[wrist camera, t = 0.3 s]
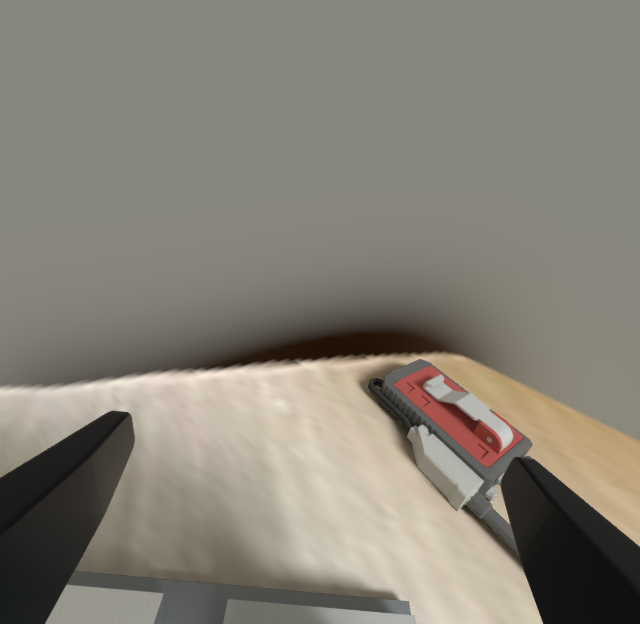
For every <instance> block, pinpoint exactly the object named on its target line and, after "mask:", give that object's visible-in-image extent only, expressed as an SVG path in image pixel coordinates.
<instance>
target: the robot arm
mask: <svg viewBox="0 0 640 624" xmlns="http://www.w3.org/2000/svg"><path fill="white" fill-rule="evenodd" d="M134 442H135V436H134V429H133V422H132V416H131V414H130V413H128V412H120V411H110V412H108V413H106V414H104V415H103V416H101V417H99V418H98V419H96V420H95V421H93V422H91V423H90V424H88V425H86V426H85V427H83V428H81V429H80V430H78V431H76V432H75V433H73V434H72V435H70V436H68V437H67V438H65V439H63V440H62V441H60V442H58V443H57V444H55V445H54V446H52V447H50V448H49V449H47V450H45V451H44V452H42V453H40V454H39V455H37V456H35V457H34V458H32V459H31V460H29V461H27V462H26V463H24V464H22V465H21V466H19V467H17V468H16V469H14V470H12V471H11V472H9V473H8V474H6V475H4V476H3V477H1V478H0V624H45V623H46V621H47V619H48V618H49V616H50V614H51V612H52V610H53V609H54V607H55V605H56V603H57V601H58V599H59V598H60V596H61V594H62V592H63V590H64V588H65V587H66V585H67V583H68V581H69V579H70V578H71V576H72V574H73V572H74V570H75V568H76V567H77V565H78V563H79V561H80V559H81V557H82V556H83V554H84V552H85V550H86V548H87V547H88V545H89V543H90V541H91V539H92V537H93V536H94V534H95V532H96V530H97V528H98V526H99V524H100V523H101V521H102V519H103V517H104V515H105V513H106V510H107V508H108V506H109V504H110V501H111V499H112V497H113V494H114V492H115V490H116V487H117V485H118V482H119V480H120V478H121V475H122V473H123V471H124V468H125V466H126V464H127V461H128V459H129V457H130V454H131V452H132V450H133V447H134ZM501 491H502V494H503V498H504V502H505V506H506V510H507V513H508V517H509V521H510V525H511V529H512V532H513V536H514V540H515V544H516V547H517V551H518V554H519V557H520V560H521V563H522V566H523V569H524V572H525V575H526V578H527V580H528V583H529V586H530V589H531V591H532V594H533V597H534V600H535V602H536V605H537V608H538V611H539V613H540V616H541V619H542V622H543V624H640V547H639V546H638V545H637V544H636V543H635V542H633V541H632V540H631V539H630V538H629V537H627V536H626V535H625V534H624V533H623V532H621V531H620V530H619V529H618V528H617V527H615V526H614V525H613V524H612V523H611V522H609V521H608V520H607V519H606V518H604V517H603V516H602V515H601V514H600V513H598V512H597V511H596V510H595V509H594V508H592V507H591V506H590V505H589V504H588V503H586V502H585V501H584V500H583V499H582V498H580V497H579V496H578V495H577V494H576V493H574V492H573V491H572V490H571V489H570V488H568V487H567V486H566V485H565V484H564V483H562V482H561V481H560V480H559V479H558V478H556V477H555V476H554V475H553V474H552V473H550V472H549V471H548V470H547V469H546V468H544V467H543V466H542V465H541V464H540V463H538V462H537V461H536V460H534V459H532V458H527V457H518V456H517V457H514V458H513V459H512V460H511V462H510V464H509V465H508V467H507V469H506V471H505V473H504V475H503V476H502V479H501Z"/></svg>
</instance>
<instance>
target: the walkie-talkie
mask: <svg viewBox="0 0 640 624" xmlns="http://www.w3.org/2000/svg"><path fill="white" fill-rule="evenodd" d="M374 385H377V386H379V387H381V391H379V390H378V389H377V388H376V387H375V386H374ZM368 388H369V390H370V391H371V393H372V394H373V395H374V396H375V397H376V398H377V399H378V400H379V403H381V404H382V405H383V407H385V408H386V409H387V411H389V412H390V413H391V415H393V416H394V417H395V419H396V420H398V421H399V422H400V424H402V425H403V426H404V428H405V430H406V431H407V432H408V435H407V438H408V439H409V440H410V441H411V443H412V447H413V451H414V456H415V460H416V464H417V467H418V468H419V469H420V470H421V471H422V472H423V473H424V474H425V476H426V477H427V478H428V479H429V480H430V481H431V482H432V483H433V484H434V485H435V486H436V487H437V488H438V489H439V490H440V491H441V492H442V493H443V494H444V495H445V497H446V498H447V499H448V501H449V503H450V504H451V505H452V506H453V507H454V508H455V509H456V510H457V511H458V510H459V509H460V508H461V507H462V506H464V505H466V506H467V507H468V508H469V509H470V510H471V511H472V512H473V513H474V514H475V515H476V516H477V517H478V518H479V519H483V520H484V521H485V522H486V523H487V524H488V525H489V526H490V527H491V528H492V529H493V530H494V531H495V532H496V534H497V535H498V536H499V537H500V538H501V539H502V540H503V541H504V542H505V543H506V544H507V545H508V546H509V547H510V548H511V549H512V550H513V551H514V552H515V553H516V554H517V555H518V556H519V554H518V551H517V547H516V544H515V540H514V536H513V532H512V529H511V525H510V524H509V523H507V522H506V521H505V520H504V519H503V518H502V517H501V516H500V515H499V514H498V513H497V512H496V511H495V510H494V509H493V508H492V504H491V503H490V502H489V501H492V500H493V499H494V498H495V497H496V496H497V494H498V493H497V492H496V491H495V490H494V486H495V485H496V484H499V485H500V486H501V479H502V476H503V475H504V473H505V471H506V469H507V467H508V465H509V464H510V462H511V460H512V459H513V458H514V457H517V456H518V457H524V456H525V455H526V454H527V452H528V451H529V449H530V448H531V447H532V445H533V444H532V443H531V441H530V439H528V438H527V437H526V436H525V435H523V434H522V433H521V432H519V431H518V430H517V429H516V428H514V427H513V426H512V425H510V424H509V423H508V422H507V421H506V420H505V419H503V418H502V417H501V416H499V415H498V414H497V413H495V412H493V411H492V410H491V409H490V408H489V407H488V406H486V405H485V404H484V403H483V402H481V401H480V400H479V399H477V398H476V397H475V396H474V395H472V394H471V393H468V392H467V391H466V390H464V389H463V388H462V387H461V386H459V385H458V384H457V383H455V382H454V381H453V380H451V379H450V378H449V377H448V376H446V375H445V374H444V373H442V372H441V371H440V370H439V369H437V368H436V367H435V366H433V365H432V364H431V363H429V362H427V361H424V360H421V359H419V360H417V361H414V362H412V363H410V364H408V365H406V366H403V367H401V368H399V369H397V370H395V371H392V372H390V373H389V374H387V375H386V376H385V378H384V381H383V380H381V379H378V378H375V379H371V380H370V382H369V385H368ZM526 457H527V458H531V457H530V456H526ZM486 498H487V499H488V500H489V501H488V500H487V499H486Z"/></svg>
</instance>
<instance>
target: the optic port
mask: <svg viewBox="0 0 640 624" xmlns="http://www.w3.org/2000/svg"><path fill="white" fill-rule="evenodd" d="M167 610H168V609H167V605H166V601H165V597H164V593H154V592H143V591H132V590H120V589H109V588H98V587H86V586H75V585H66V587H65V588H64V590H63V592H62V594H61V596H60V598H59V599H58V601H57V603H56V605H55V607H54V609H53V610H52V612H51V614H50V616H49V618H48V619H47V621H46V623H45V624H163V623H164V620H165V617H166V614H167Z"/></svg>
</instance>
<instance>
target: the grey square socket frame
mask: <svg viewBox="0 0 640 624" xmlns="http://www.w3.org/2000/svg"><path fill="white" fill-rule="evenodd" d="M223 624H416V621H415V616H414V615H403V614H392V613H380V612H369V611H358V610H347V609H335V608H324V607H313V606H301V605H290V604H279V603H267V602H256V601H245V600H233V599H228V602H227V607H226V612H225V617H224V622H223Z"/></svg>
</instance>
